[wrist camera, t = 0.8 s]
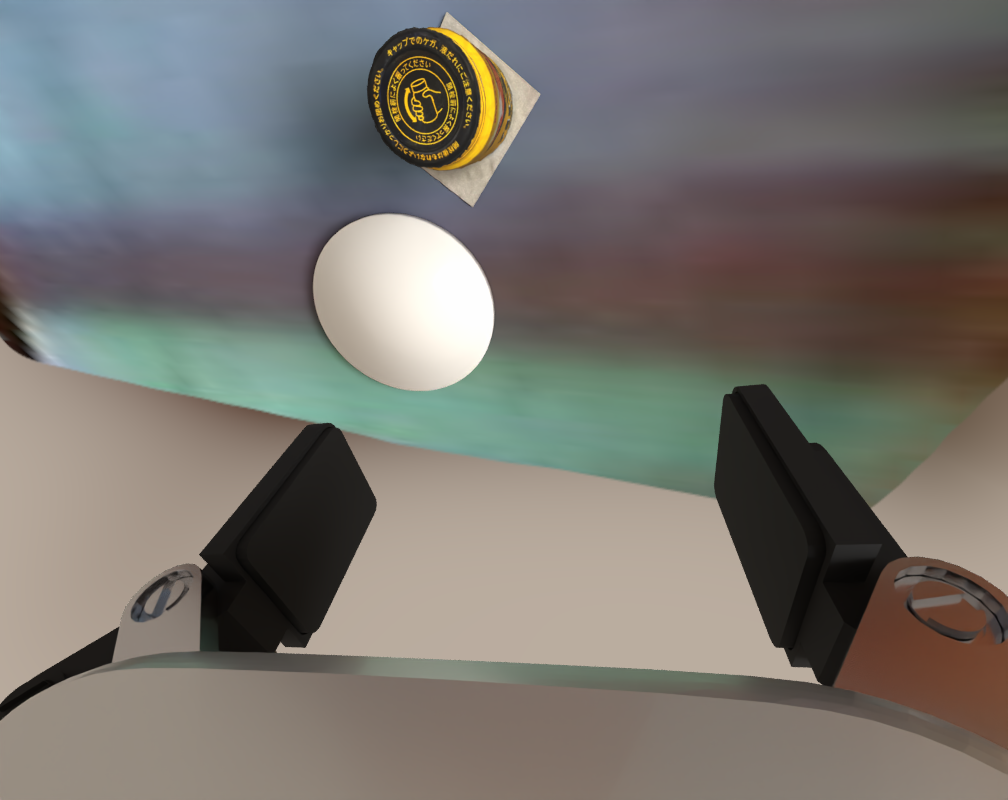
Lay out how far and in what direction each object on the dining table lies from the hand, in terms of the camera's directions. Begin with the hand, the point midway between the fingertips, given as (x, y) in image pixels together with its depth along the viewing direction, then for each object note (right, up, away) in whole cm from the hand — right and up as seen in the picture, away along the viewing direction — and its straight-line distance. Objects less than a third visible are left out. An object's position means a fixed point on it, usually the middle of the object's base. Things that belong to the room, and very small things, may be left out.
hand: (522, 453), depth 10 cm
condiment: (-3, +21, +19) cm, 28 cm away
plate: (-9, +9, +27) cm, 30 cm away
